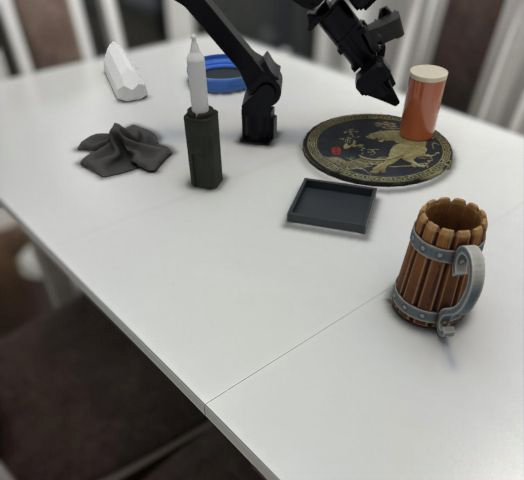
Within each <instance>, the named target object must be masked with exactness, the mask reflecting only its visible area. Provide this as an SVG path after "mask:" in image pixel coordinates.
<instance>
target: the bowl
mask: <svg viewBox="0 0 524 480" xmlns="http://www.w3.org/2000/svg"><path fill="white" fill-rule="evenodd" d="M203 56H204V58H205V68H206V80H207V92H209V93H233V92H238V91H242V90H246V89H247V87H246V85H245V83H244V81H243V79H242V76H241V74H240V72H239V70H238V69H237V67H236V66H235V65H234V64H233V63H232V62H231V60H230V59H229V58H228V57H227V56H226V55H225V53H215V54H214V53H213V54H207V55H203ZM186 74H187V75H188V69H187V68H186Z"/></svg>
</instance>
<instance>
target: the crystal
mask: <svg viewBox="0 0 524 480" xmlns="http://www.w3.org/2000/svg"><path fill="white" fill-rule="evenodd" d="M103 70H104V71H103V72H104V73H105V75H106V77H107V79H108V82H109V85H110V86H111V89H112V91H113V93H114V95H115V97H116V99H117V100H122V101H125V102H132V101H138V100H139V101H140V100H142V99H143V98H145V97H146V96H147V95H148V94H149V92H148V90H147V85H146V84H145V83H144V81H143V79H142V77H141V76H140V74H139V72H138V70H137V69H136V67H135V64H134V63H133V62H132V59H131V58H130V56H129V55H128V53H127V52H126V51H125V50H124V48H123V47H122V46H121V45H119V43H117V42H115V41H112V42H110V43H109V45H108V47H107V49H106V51H105V55H104V59H103Z"/></svg>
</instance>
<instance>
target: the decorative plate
mask: <svg viewBox="0 0 524 480" xmlns="http://www.w3.org/2000/svg"><path fill="white" fill-rule="evenodd" d="M401 118H402V116H398V115H393V114H384V113H352V114H345V115H339V116H336V117H335V116H334V117H332V118H329V119H326V120H324V121H321V122H319V123H318V124H316V125H314V126H313V127H312V128H311V129H310V130H309V131H308V132H306V134H305V136H304V138H303V141H302V152H303V155H304V158H305V159H306V160H307V162H308V163H309V164H310V165H311V166H313V167H314V168H315V169H316V170H318V171H319V172H321V173H323V174H325V175H327V176H329V177H331V178H334V179H337V180H339V181H342V182H345V183H346V182H347V183H349V184H353V185H360V186H367V187H374V188H378V187H379V188H396V187H397V188H398V187H406V186H413V185H418V184H422V183H425V182H429V181H431V180H433V179H435V178H437V177H439V176H440V175H441V176H442V174H443V173H445V171H448V170H449V169H450V167H451V166H452V164H453V156H454V152H453V149H452V145H451V143H450V142H449V140H448V139H447V138H446V137H445V136H444V135H443V134H441V132H439V131H438V130H436V129H435V131H434V135H433V137H432V138H431V139H429V140H425V141H414V140H409V139H406V138H404V137H402V136H401V135H400V133H399V129H400V124H401Z"/></svg>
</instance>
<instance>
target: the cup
mask: <svg viewBox="0 0 524 480" xmlns="http://www.w3.org/2000/svg"><path fill="white" fill-rule="evenodd" d="M408 74H409V76H408V80H407V86H406V91H405V96H404V97H405V98H404V103H403V108H402V114H401V117H402V118H401V124H400V129H399V133H400V135H401V136H402V137H404V138H406V139H409V140H414V141H425V140H429V139H431V138H432V137H433V135H434V131H435V130H436V126H437V122H438V118H439V113H440V109H441V105H442V101H443V97H444V93H445V87H446V83H447V79H448V76H449V70H447V69H446V68H444V67H442V66H439V65H435V64H417V65H414V66H411V68H410V69H409V73H408Z"/></svg>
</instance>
